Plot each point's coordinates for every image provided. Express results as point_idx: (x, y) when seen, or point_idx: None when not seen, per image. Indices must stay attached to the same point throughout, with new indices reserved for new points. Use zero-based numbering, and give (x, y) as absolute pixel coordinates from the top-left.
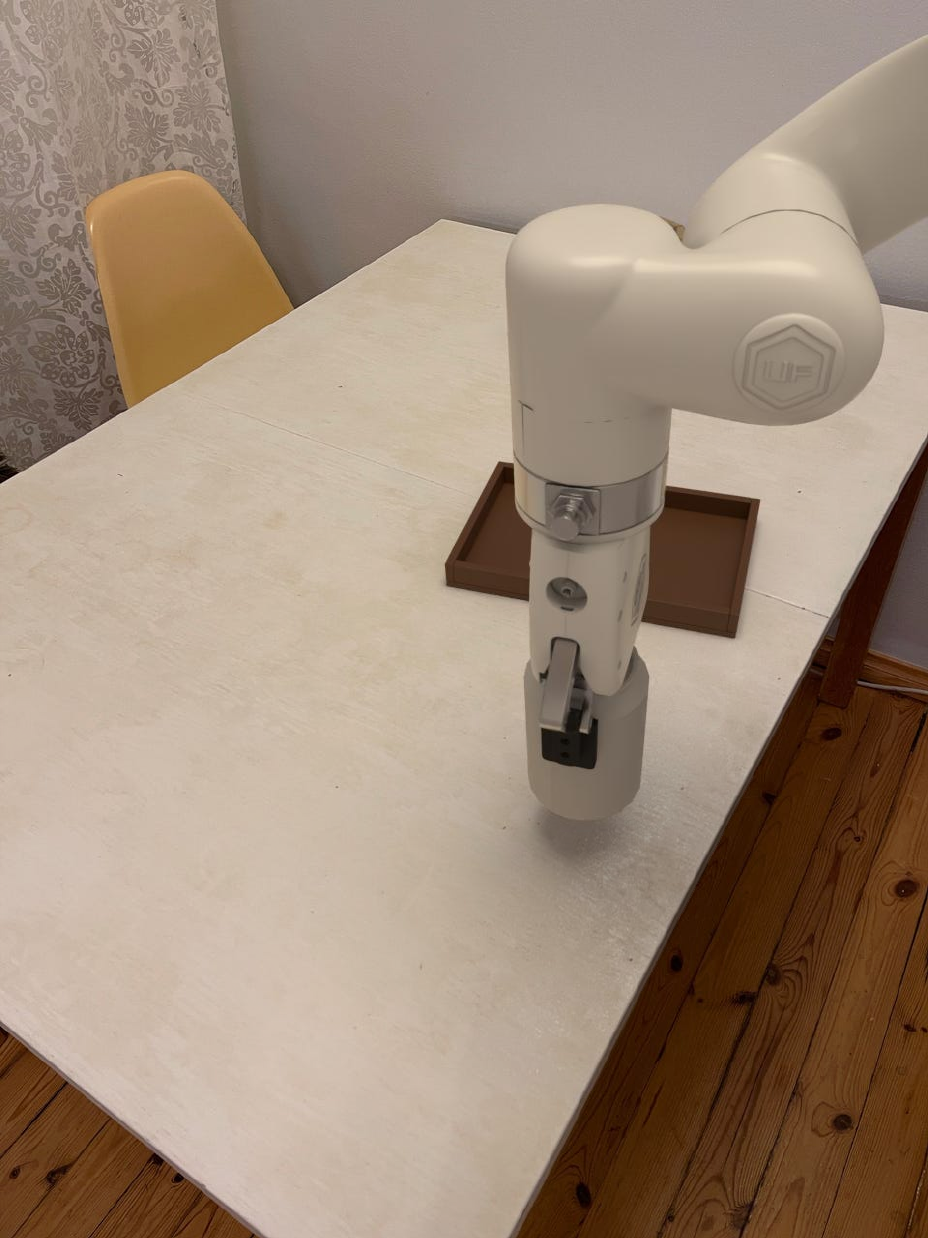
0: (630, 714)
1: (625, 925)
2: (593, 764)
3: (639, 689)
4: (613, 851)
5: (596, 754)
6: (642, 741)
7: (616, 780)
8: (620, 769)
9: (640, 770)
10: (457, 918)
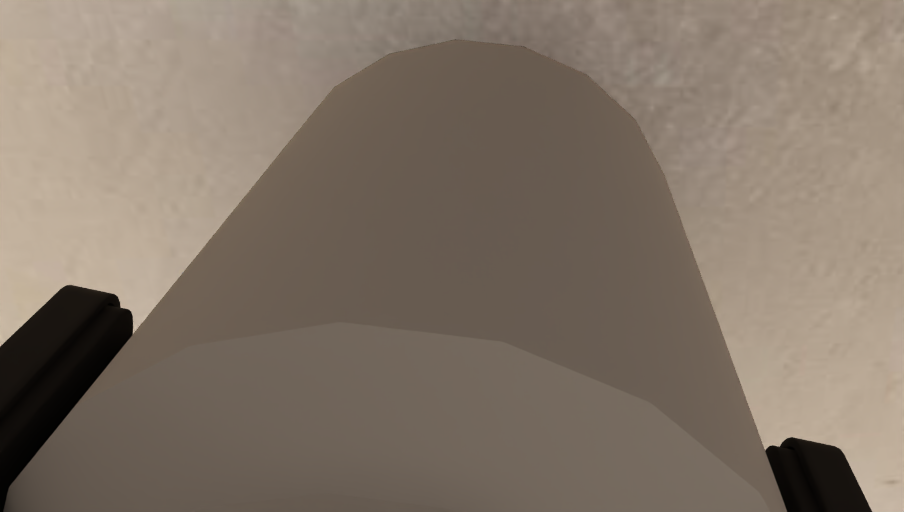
0: (714, 440)
1: (821, 22)
2: (847, 471)
3: (545, 439)
4: (574, 56)
5: (838, 495)
6: (534, 149)
7: (674, 222)
8: (677, 237)
9: (529, 80)
10: (773, 421)
